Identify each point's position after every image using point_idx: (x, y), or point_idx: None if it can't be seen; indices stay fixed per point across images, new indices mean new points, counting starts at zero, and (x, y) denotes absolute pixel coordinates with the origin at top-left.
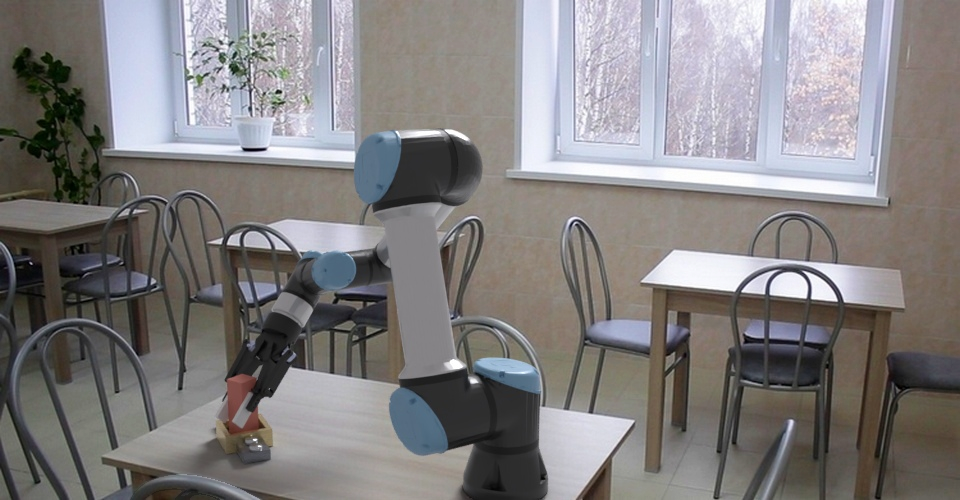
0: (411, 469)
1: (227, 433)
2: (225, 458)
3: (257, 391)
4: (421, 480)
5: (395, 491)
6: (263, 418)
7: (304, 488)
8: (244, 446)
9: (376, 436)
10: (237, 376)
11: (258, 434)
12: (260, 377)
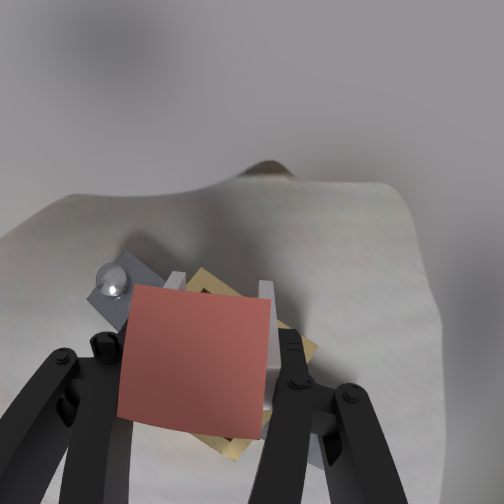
0: None
1: (212, 287)
2: (196, 269)
3: (97, 353)
4: None
5: None
6: (197, 435)
7: (14, 236)
8: (150, 285)
9: None
10: (248, 381)
11: None
12: (93, 420)
